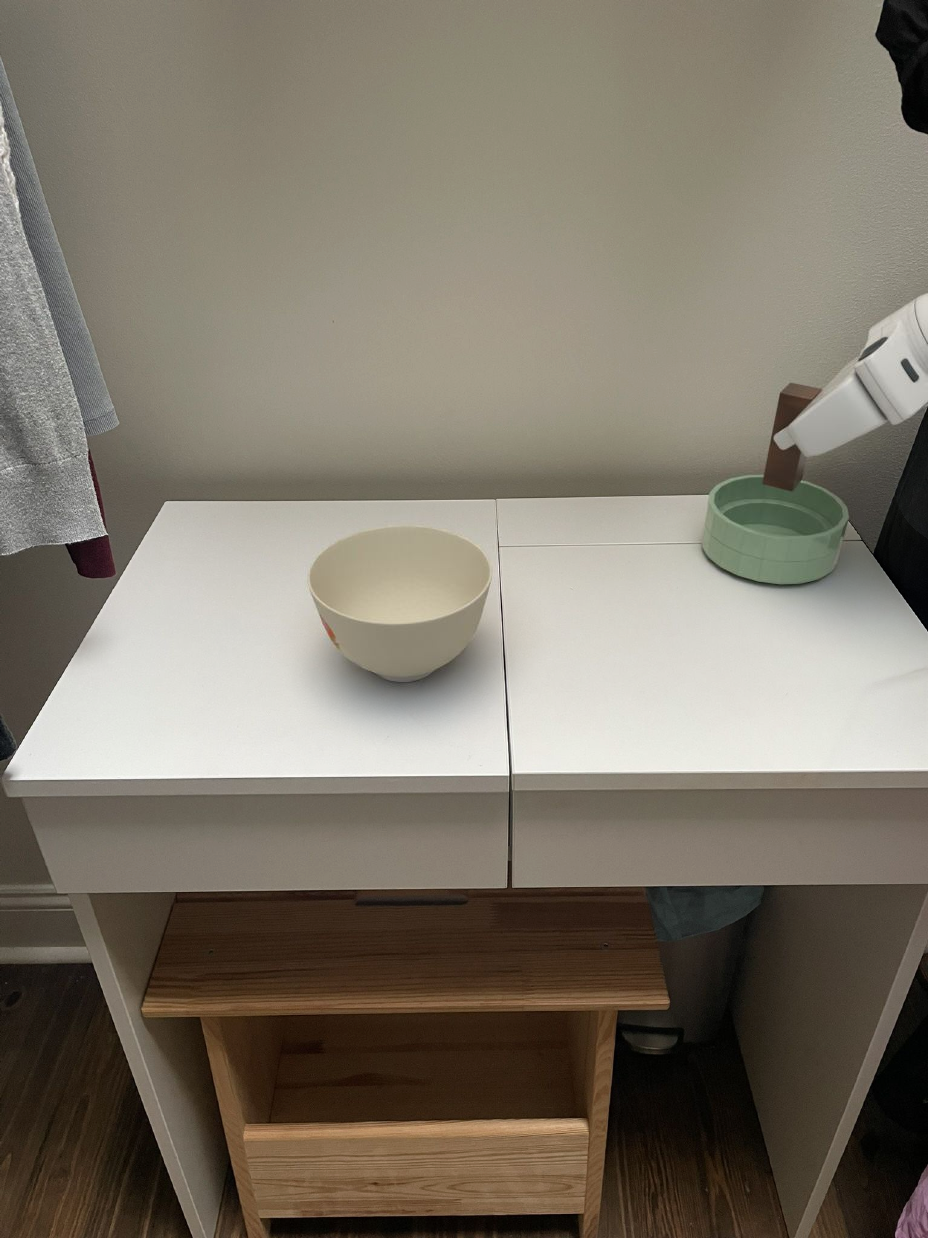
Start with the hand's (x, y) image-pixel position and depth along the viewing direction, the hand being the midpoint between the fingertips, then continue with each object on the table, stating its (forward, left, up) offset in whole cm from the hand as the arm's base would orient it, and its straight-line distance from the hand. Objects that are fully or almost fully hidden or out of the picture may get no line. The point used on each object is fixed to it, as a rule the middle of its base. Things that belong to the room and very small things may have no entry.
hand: (786, 433), depth 96 cm
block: (0, 0, -5) cm, 5 cm away
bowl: (-4, +43, -14) cm, 45 cm away
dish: (-1, 0, -14) cm, 14 cm away
